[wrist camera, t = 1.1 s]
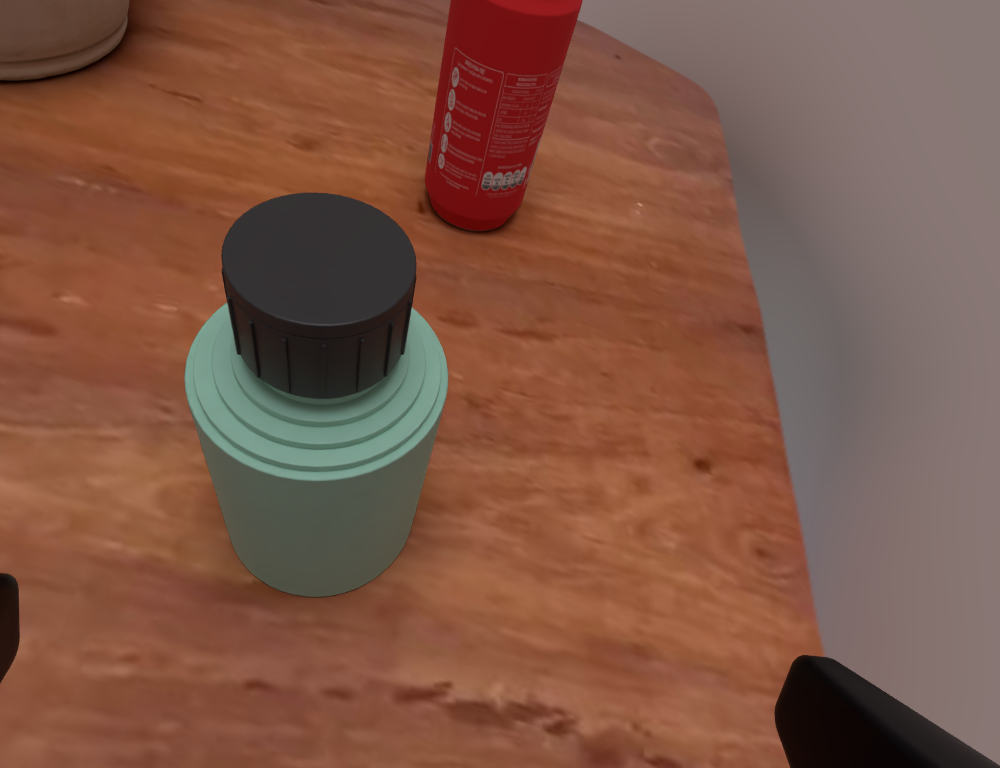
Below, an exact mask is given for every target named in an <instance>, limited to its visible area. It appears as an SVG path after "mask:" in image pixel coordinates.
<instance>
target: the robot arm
mask: <svg viewBox="0 0 1000 768" xmlns="http://www.w3.org/2000/svg"><path fill="white" fill-rule="evenodd" d="M19 638H20V632H19V589H18V583H17V581H16V579H15V578H14V577H13V576H11V575H10V574H5V573H0V683H1V681H2V680H3V678H4V676H5V675H6V673H7V671H8V670H9V668H10V666H11V664H12V663H13V661H14V658H15V656H16V653H17V650H18V646H19ZM775 724H776V728H777V731H778V734H779V737H780V740H781V743H782V745H783V748H784V751H785V754H786V757H787V760H788V762H789V765H790V768H1000V766H999V765H998V764H996V763H995V762H993V761H992V760H990V759H989V758H987V757H985V756H984V755H982V754H981V753H979V752H978V751H976V750H975V749H973V748H971V747H970V746H968V745H967V744H965V743H964V742H962V741H960V740H959V739H957V738H956V737H954V736H953V735H951V734H949V733H948V732H946V731H945V730H943V729H942V728H940V727H939V726H937V725H936V724H934V723H932V722H931V721H929V720H928V719H926V718H925V717H923V716H922V715H920V714H918V713H917V712H915V711H914V710H912V709H910V708H909V707H907V706H906V705H904V704H903V703H901V702H900V701H898V700H897V699H895V698H893V697H892V696H890V695H889V694H887V693H886V692H884V691H882V690H881V689H879V688H878V687H876V686H875V685H873V684H871V683H870V682H868V681H867V680H865V679H864V678H862V677H861V676H859V675H857V674H856V673H854V672H853V671H851V670H850V669H848V668H847V667H845V666H843V665H842V664H840V663H839V662H837V661H835V660H834V659H831V658H828V657H819V656H809V655H802V656H799V657H797V658H796V659H795V660H794V661H793V663H792V665H791V668H790V670H789V673H788V675H787V678H786V680H785V683H784V685H783V688H782V690H781V693H780V695H779V698H778V700H777V703H776V706H775Z"/></svg>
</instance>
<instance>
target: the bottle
mask: <svg viewBox="0 0 1000 768" xmlns="http://www.w3.org/2000/svg"><path fill="white" fill-rule="evenodd" d="M447 389H448V369H447V362H446V358H445V355H444V352H443V348H442V346H441V344H440V342H439V340H438V338H437V336H436V334H435V333H434V331H433V330H432V328H431V327H430V325H429V324H428V323H427V322H426V321H425V320H424V318H423V317H422V316H421V315H420V314H419V313H418V312H417V311H415V310H414V309H413V308H412V310H411V316H410V322H409V328H408V335H407V341H406V347H405V353H404V355H401V357H400V359H399V361H398V362H397V364H396V366H395V367H394V368H393V369H392V371H391V372H390V373H389V375H388V376H387V377H384V378H383V379H382V380H381V381H380V382H378V383H377V384H375V385H374V386H372V387H370V388H368V389H366V390H364V391H362V392H359V393H356V394H353V395H349V396H345V397H341V398H332V399H313V398H304V397H299V396H294V395H291V394H288V393H285V392H283V391H280V390H278V389H276V388H274V387H272V386H270V385H269V384H267V383H265V382H264V381H263V380H261V379H260V378H257V377H256V376H255V374H254V373H253V372H252V371H251V370H250V369H249V368H248V366H247V365H246V364H245V362H244V361H243V359H242V357H241V355H237V352H236V347H235V341H234V336H233V330H232V326H231V320H230V315H229V309H228V304H227V303H226V304H224V305H223V306H222V307H221V308H220V309H218V310H217V311H216V312H215V313H214V314H213V315H212V316H211V317H210V318H209V319H208V320H207V321H206V323H205V324H204V325H203V327H202V328H201V330H200V331H199V332H198V334H197V336H196V338H195V340H194V342H193V344H192V346H191V348H190V351H189V354H188V358H187V361H186V368H185V391H186V395H187V400H188V404H189V407H190V410H191V414H192V417H193V420H194V423H195V427H196V430H197V433H198V436H199V440H200V443H201V446H202V449H203V453H204V456H205V459H206V462H207V466H208V469H209V472H210V475H211V479H212V482H213V485H214V488H215V491H216V495H217V498H218V501H219V504H220V508H221V511H222V514H223V517H224V521H225V524H226V527H227V530H228V534H229V537H230V540H231V543H232V545H233V548H234V550H235V552H236V554H237V555H238V557H239V559H240V560H241V562H242V563H243V564H244V565H245V567H246V568H247V569H248V570H249V571H250V572H251V573H252V574H253V575H254V576H256V577H257V578H258V579H259V580H261V581H263V582H264V583H266V584H267V585H269V586H271V587H273V588H275V589H277V590H280V591H283V592H286V593H289V594H293V595H299V596H305V597H323V596H332V595H337V594H341V593H345V592H348V591H351V590H354V589H356V588H358V587H360V586H362V585H364V584H366V583H368V582H370V581H371V580H373V579H374V578H376V577H377V576H379V575H380V574H381V573H382V572H383V571H384V570H386V569H387V568H388V567H389V566H390V565H391V564H392V562H393V561H394V560H395V559H396V558H397V556H398V555H399V553H400V552H401V550H402V549H403V547H404V545H405V543H406V541H407V539H408V536H409V533H410V530H411V527H412V523H413V520H414V516H415V512H416V508H417V505H418V501H419V497H420V493H421V490H422V486H423V482H424V478H425V475H426V471H427V467H428V464H429V460H430V456H431V452H432V449H433V445H434V441H435V437H436V434H437V430H438V426H439V422H440V419H441V415H442V411H443V407H444V404H445V400H446V395H447Z"/></svg>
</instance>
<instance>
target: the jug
mask: <svg viewBox="0 0 1000 768" xmlns="http://www.w3.org/2000/svg"><path fill="white" fill-rule="evenodd" d="M129 1H130V0H0V80H11V81H19V80H33V79H40V78H45V77H49V76H54V75H61V74H65V73H67V72H71V71H75V70H78V69H81V68H83V67H86V66H88V65H89V64H91V63H94V62H96V61H98V60H99V59H101V58H102V57H104V56H105V55H107V54H108V53H110V52H111V51H112V50H113V49H114V48H115V47H116V46H117V45H118V44H119V43H120V41H121V39H122V38H123V35H124V33H125V30H126V27H127V22H128V16H127V13H128V9H129Z"/></svg>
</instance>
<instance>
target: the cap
mask: <svg viewBox="0 0 1000 768" xmlns="http://www.w3.org/2000/svg"><path fill="white" fill-rule="evenodd" d="M221 256H222V266H223V268H222V276H223V282H224V287H225V293H226V298H227V304H228V309H229V315H230V320H231V326H232V330H233V336H234V341H235V347H236V352H237V355H241V357H242V359H243V361H244V362H245V364H246V365H247V366H248V368H249V369H250V370H251V371H252V372H253V373H254V374H255V376H256V377H257V378H260V379H261V380H263V381H264V382H265V383H267V384H269V385H270V386H272V387H274V388H276V389H278V390H280V391H283V392H285V393H288V394H291V395H294V396H299V397H304V398H313V399H332V398H341V397H345V396H349V395H353V394H356V393H359V392H362V391H364V390H366V389H368V388H370V387H372V386H374V385H375V384H377V383H378V382H380V381H381V380H382V379H383V378H384V377H387V376H388V375H389V373H390V372H391V371H392V369H393V368H394V367H395V366H396V364H397V362H398V361H399V359H400V357H401V355H404V353H405V347H406V341H407V335H408V328H409V322H410V316H411V310H412V303H413V296H414V289H415V283H416V256H415V252H414V249H413V246H412V244H411V242H410V240H409V238H408V236H407V235H406V234H405V232H404V231H403V230H402V228H401V227H400V226H399V225H398V224H397V223H396V222H395V221H394V220H392V219H391V218H390V217H389V216H387V215H386V214H384V213H383V212H382V211H380V210H378V209H376V208H374V207H373V206H371V205H368V204H366V203H364V202H361V201H358V200H355V199H352V198H349V197H344V196H340V195H334V194H328V193H298V194H291V195H285V196H281V197H277V198H274V199H270V200H268V201H265V202H263V203H261V204H259V205H257V206H255V207H253V208H251V209H250V210H249V211H247V212H246V213H244V214H243V215H242V216H241V217H240V218H239V219H238V220H237V221H236V222H235V223H234V224H233V225H232V227H231V228H230V230H229V232H228V233H227V235H226V237H225V240H224V243H223V246H222V255H221Z"/></svg>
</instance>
